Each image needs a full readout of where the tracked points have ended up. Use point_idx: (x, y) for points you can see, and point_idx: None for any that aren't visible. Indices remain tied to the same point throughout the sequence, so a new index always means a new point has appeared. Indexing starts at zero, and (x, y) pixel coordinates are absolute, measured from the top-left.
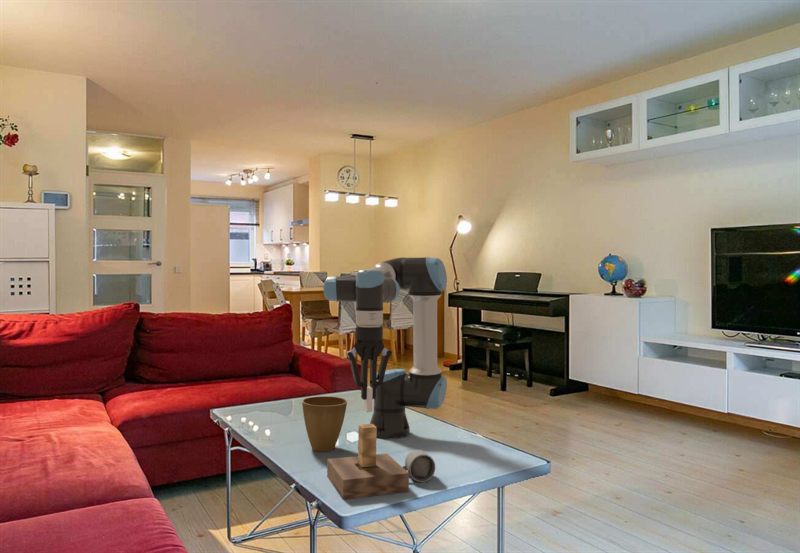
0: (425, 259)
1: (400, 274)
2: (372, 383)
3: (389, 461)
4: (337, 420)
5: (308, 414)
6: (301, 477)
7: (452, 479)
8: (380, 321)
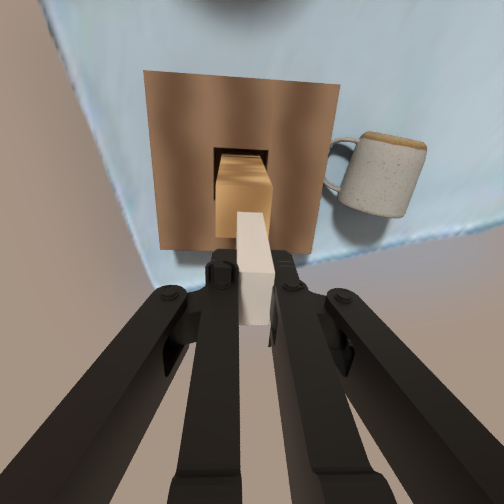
0: None
1: None
2: (272, 346)
3: (309, 163)
4: None
5: None
6: (82, 50)
7: (422, 203)
8: None
